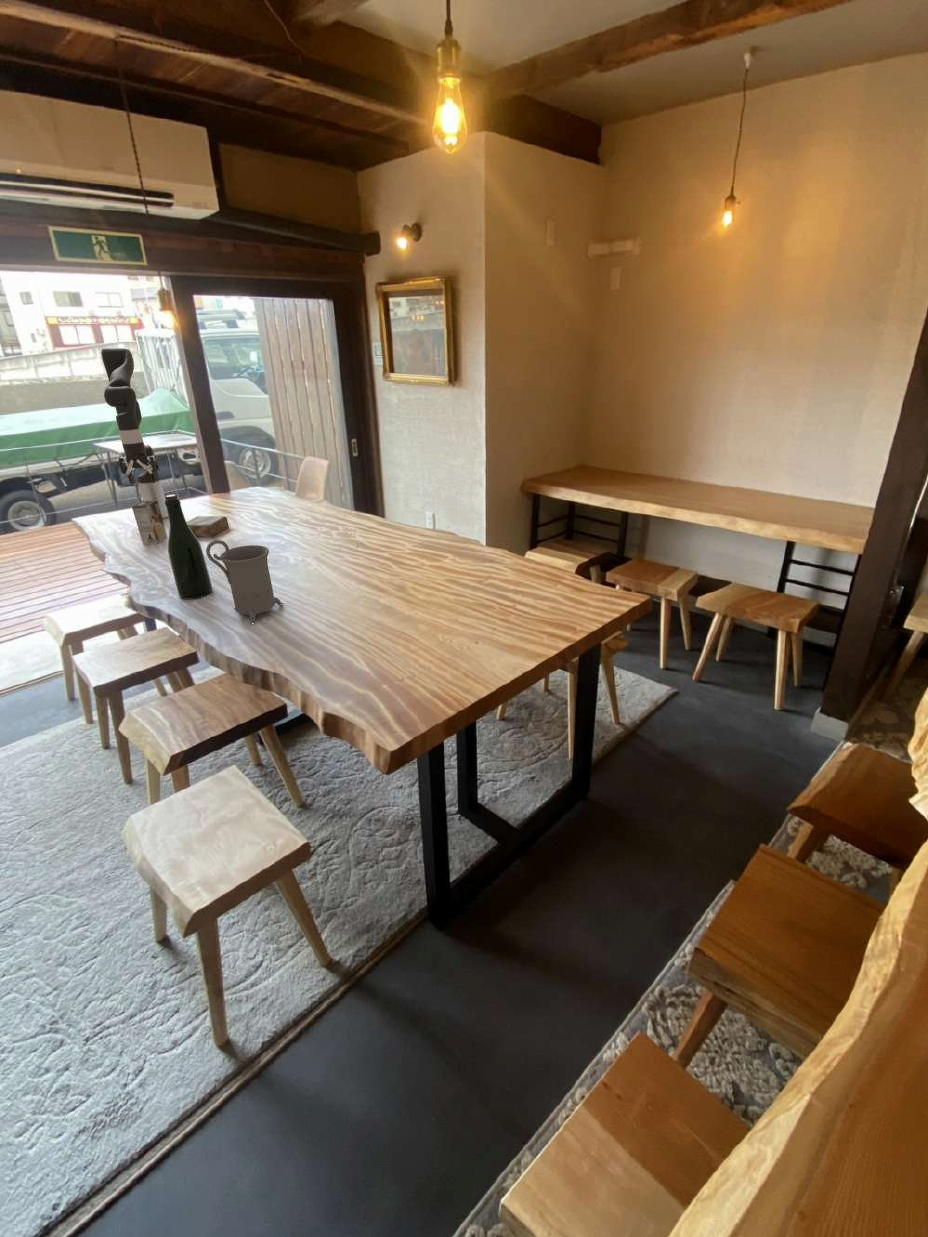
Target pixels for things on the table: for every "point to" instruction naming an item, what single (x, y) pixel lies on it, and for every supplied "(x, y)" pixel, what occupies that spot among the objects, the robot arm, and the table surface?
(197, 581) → the beer bottle
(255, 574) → the mug
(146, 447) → the robot arm
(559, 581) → the table surface
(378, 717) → the table surface
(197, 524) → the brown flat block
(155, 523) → the coffee box
